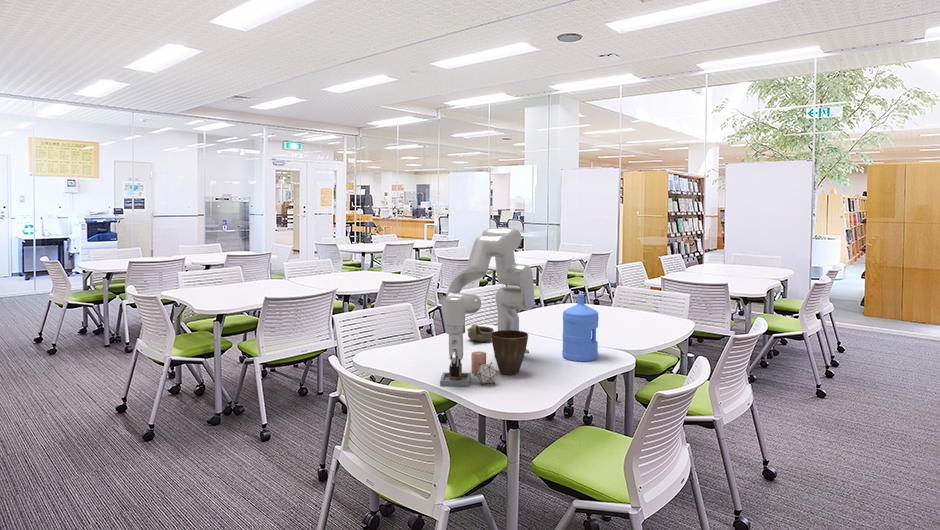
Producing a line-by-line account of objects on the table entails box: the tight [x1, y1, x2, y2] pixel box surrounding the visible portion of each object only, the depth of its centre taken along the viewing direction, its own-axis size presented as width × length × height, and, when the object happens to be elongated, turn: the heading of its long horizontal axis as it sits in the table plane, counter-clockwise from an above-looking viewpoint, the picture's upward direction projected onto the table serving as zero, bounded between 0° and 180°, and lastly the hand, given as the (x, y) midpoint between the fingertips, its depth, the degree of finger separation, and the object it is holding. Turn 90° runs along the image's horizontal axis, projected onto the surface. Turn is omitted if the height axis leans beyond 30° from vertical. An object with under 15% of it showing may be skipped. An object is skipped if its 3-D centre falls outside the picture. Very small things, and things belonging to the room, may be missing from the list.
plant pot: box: [491, 330, 529, 376], centre depth 227 cm, size 15×15×16 cm
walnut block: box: [448, 362, 463, 380], centre depth 216 cm, size 4×4×6 cm
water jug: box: [561, 294, 599, 362], centre depth 250 cm, size 16×16×28 cm
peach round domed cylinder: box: [470, 350, 487, 375], centre depth 228 cm, size 6×6×8 cm
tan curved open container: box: [466, 323, 495, 343], centre depth 283 cm, size 14×18×10 cm
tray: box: [439, 372, 472, 387], centre depth 216 cm, size 11×11×2 cm
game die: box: [474, 361, 500, 386], centre depth 213 cm, size 9×8×10 cm
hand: (455, 372), depth 216 cm, fingers open, 9 cm apart
